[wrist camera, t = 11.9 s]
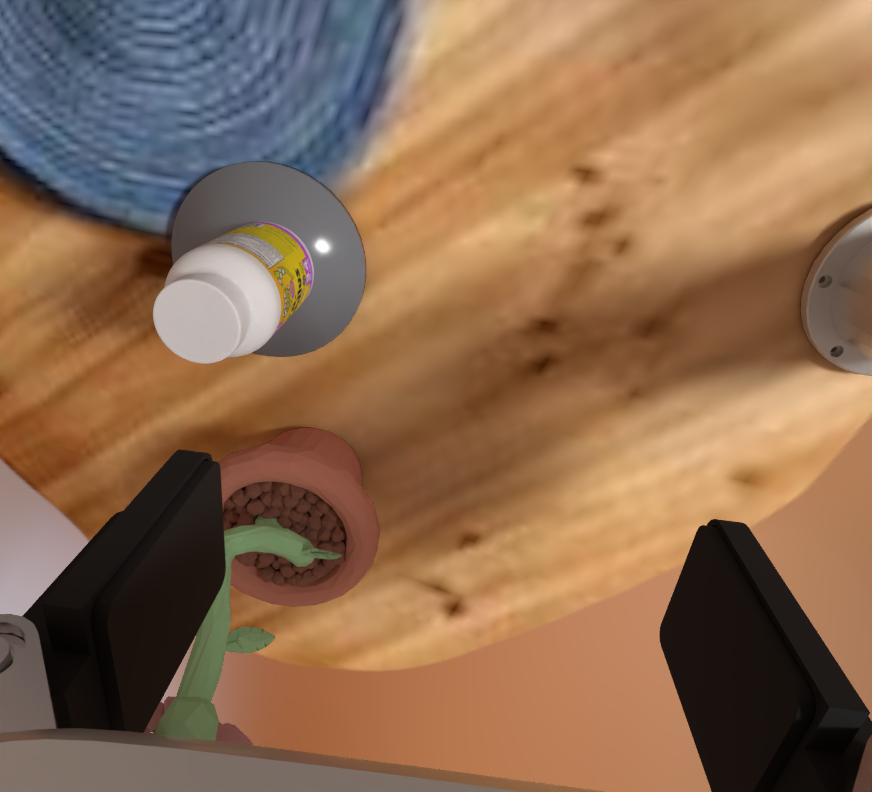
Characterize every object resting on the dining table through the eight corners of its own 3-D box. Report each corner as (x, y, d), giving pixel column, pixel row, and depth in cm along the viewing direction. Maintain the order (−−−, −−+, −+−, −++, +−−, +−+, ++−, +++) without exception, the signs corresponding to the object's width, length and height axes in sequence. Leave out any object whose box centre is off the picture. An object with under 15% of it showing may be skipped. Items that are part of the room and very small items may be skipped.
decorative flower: (194, 469, 52) (-114, 860, 25) (274, 355, 47) (-4, 692, 20) (335, 557, 55) (200, 985, 28) (425, 459, 50) (366, 870, 23)
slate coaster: (372, 174, 40) (370, 176, 40) (360, 363, 46) (358, 367, 46) (168, 148, 40) (162, 149, 40) (183, 340, 46) (179, 344, 46)
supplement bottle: (292, 327, 45) (227, 403, 33) (211, 280, 43) (115, 342, 32) (333, 252, 42) (279, 305, 30) (248, 199, 41) (158, 234, 29)
